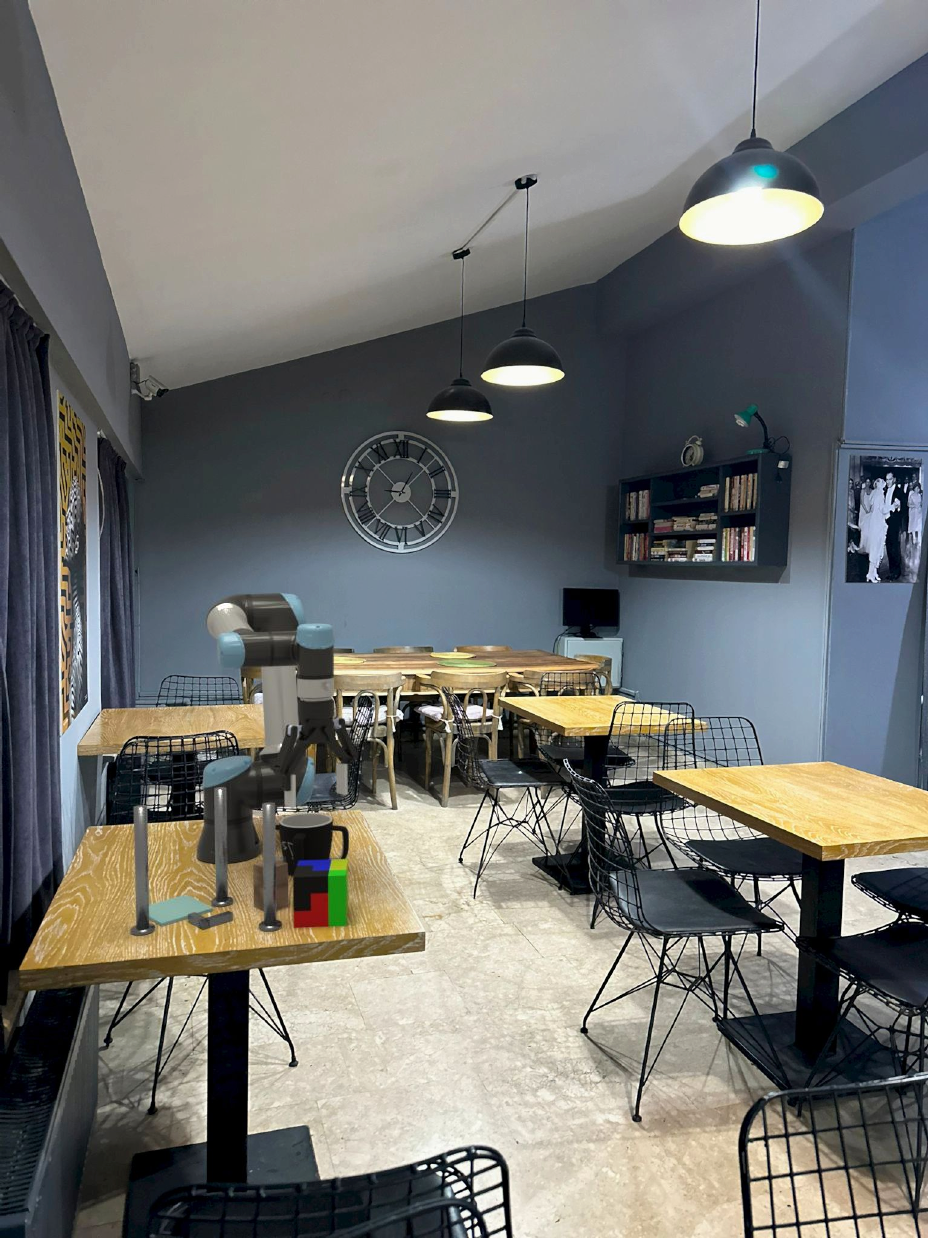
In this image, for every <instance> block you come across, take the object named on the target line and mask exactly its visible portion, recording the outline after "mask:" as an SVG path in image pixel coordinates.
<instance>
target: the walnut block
mask: <svg viewBox="0 0 928 1238" xmlns="http://www.w3.org/2000/svg"><path fill="white" fill-rule="evenodd" d="M252 866H253V867H252V869H253V870H252V871H253V874H252V875H253V876H252V877H253V878H252V879H253V908H256V909H257V910H259V911H261V912H263V913H264V891H263V860H261V861H257V862H255V863H253V865H252ZM288 907H289V873H288V863H285V862H283V861H280V860H278V859H276V910H277V911H279V910H282V909H285V908H286V909H287V908H288Z"/></svg>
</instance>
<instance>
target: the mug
mask: <svg viewBox="0 0 928 1238" xmlns="http://www.w3.org/2000/svg"><path fill="white" fill-rule="evenodd" d="M278 822H279V823H278V824H275V831H278V832H279V833H278V834H279V840H280V841H279V844H280V849H281V855H282V856H276V859H278V860H280V861H283V862H285V863H288V874H289V875H292V876H294V873H295V870H296V867H297V864H298V861H300V860H333V859H347V857H348V854H349V849H350V832H349V830H348V828H347V827H346V826H343V825H336V824H335V825H334V820H333V818H332V816H330V815H328V814H324V813H320V812H318V813H317V812H303V813H295V814H291V815H286V816H285V817H282V818H281V819H280V820H279V821H278ZM333 832H341V839H342V844H341V845H342V848H341V853H340V855H339V857H331V851H332V843H333V834H334V833H333Z"/></svg>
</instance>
